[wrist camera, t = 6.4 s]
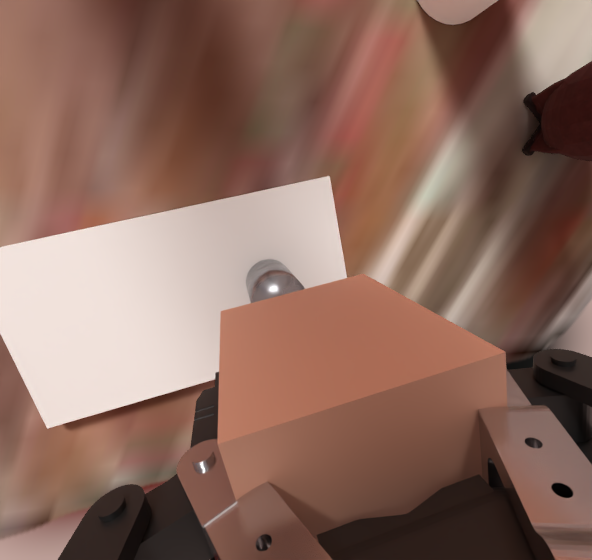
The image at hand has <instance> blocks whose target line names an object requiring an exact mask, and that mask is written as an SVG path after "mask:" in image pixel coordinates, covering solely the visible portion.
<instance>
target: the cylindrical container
mask: <svg viewBox="0 0 592 560" xmlns="http://www.w3.org/2000/svg"><path fill="white" fill-rule="evenodd" d="M417 1H418V2H419V4H420V6H421V7H422V9H423V10H424V11H425V12H426V13H427V14H428V15H429V16H431V17H432V18H433V19H435V20H436V21H439V22H441V23H444V24H450V25H456V24H462V23H465V22H467V21H470V20H471V19H473V18H474V17H476V16H477V15H478V14H480V13H481V12H483V11H484V10H485V9H487V8H488V7H490V6H491V5H492V4H494V3H495V2H497V1H498V0H417Z"/></svg>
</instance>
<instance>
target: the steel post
mask: <svg viewBox="0 0 592 560" xmlns="http://www.w3.org/2000/svg"><path fill="white" fill-rule="evenodd" d="M246 287H247V291H248V295H249V298H250V302H251V303H254V302H258V301H261V300H265V299H269V298H273V297H277V296H280V295H284V294H288V293H292V292H296V291H299V290H303V289H305V288H304V286H303V285H302V284H301V283H300V282H299V280H298V279H297V278H296V277H295V276H294V275H293V274H292V273H291V272H290V270H289V269H288V268H287V267H286V266H285V265H284V264H283V263H281V262H279V261H277V260H273V259H266V260H262V261H259V262H257V263H256V264H255V265H253V266H252V267H251V269H250V270H249V272H248V274H247V277H246Z"/></svg>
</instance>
